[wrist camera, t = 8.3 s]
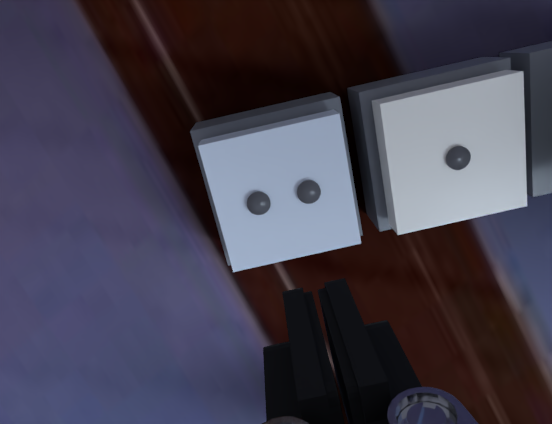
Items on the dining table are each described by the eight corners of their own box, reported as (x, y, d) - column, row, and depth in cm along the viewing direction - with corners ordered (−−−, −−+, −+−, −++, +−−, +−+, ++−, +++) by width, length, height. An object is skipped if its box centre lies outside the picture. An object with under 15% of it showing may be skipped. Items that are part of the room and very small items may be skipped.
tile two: (323, 102, 26) (340, 114, 22) (343, 213, 29) (362, 244, 24) (206, 129, 26) (197, 146, 22) (235, 237, 29) (233, 273, 24)
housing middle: (482, 56, 26) (510, 57, 23) (489, 186, 29) (515, 201, 26) (346, 88, 26) (358, 92, 24) (366, 214, 29) (379, 231, 26)
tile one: (475, 67, 26) (525, 71, 22) (483, 181, 29) (529, 207, 24) (357, 94, 26) (381, 104, 22) (374, 206, 29) (398, 236, 24)
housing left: (330, 91, 26) (339, 96, 24) (351, 217, 29) (362, 235, 26) (196, 122, 27) (189, 131, 24) (229, 244, 29) (228, 265, 26)
